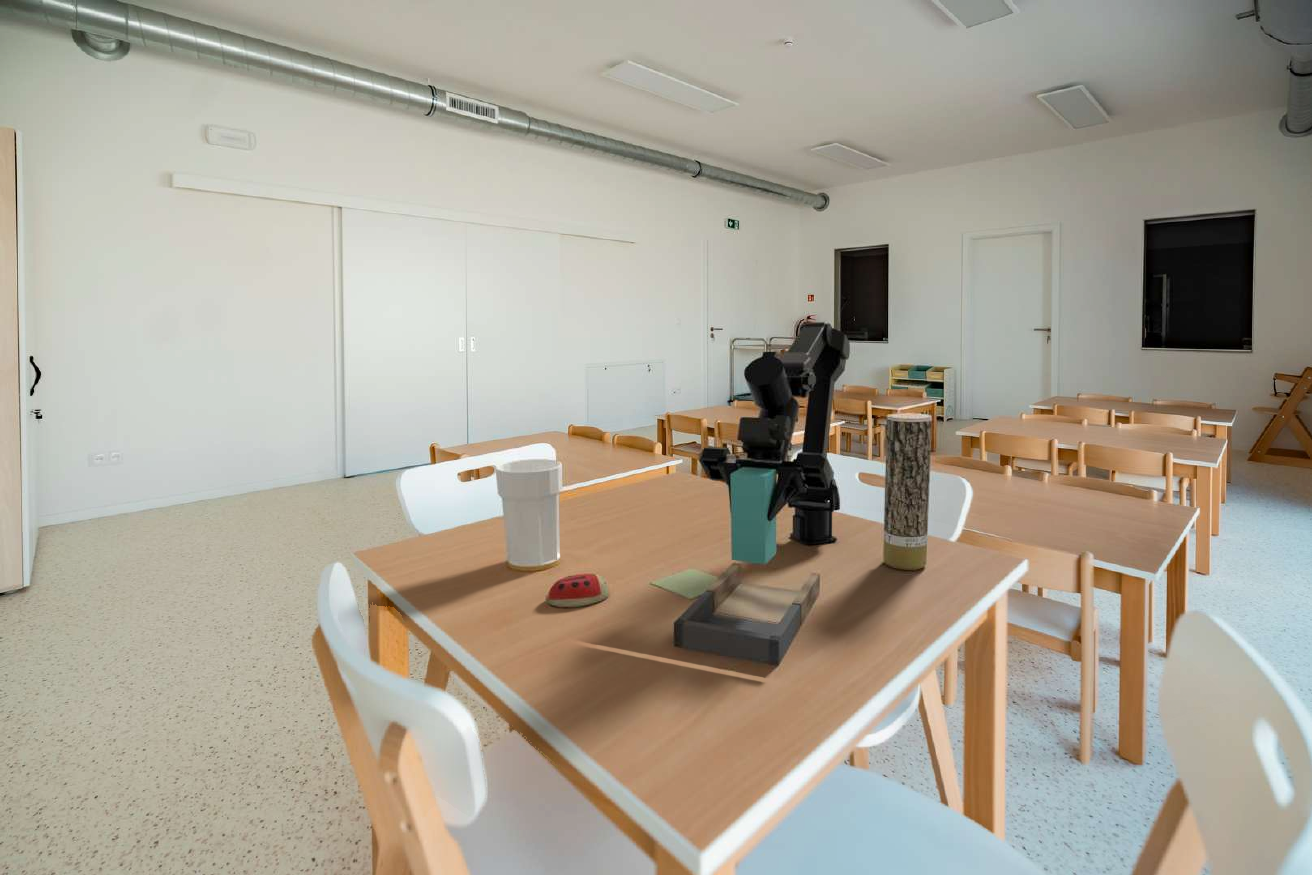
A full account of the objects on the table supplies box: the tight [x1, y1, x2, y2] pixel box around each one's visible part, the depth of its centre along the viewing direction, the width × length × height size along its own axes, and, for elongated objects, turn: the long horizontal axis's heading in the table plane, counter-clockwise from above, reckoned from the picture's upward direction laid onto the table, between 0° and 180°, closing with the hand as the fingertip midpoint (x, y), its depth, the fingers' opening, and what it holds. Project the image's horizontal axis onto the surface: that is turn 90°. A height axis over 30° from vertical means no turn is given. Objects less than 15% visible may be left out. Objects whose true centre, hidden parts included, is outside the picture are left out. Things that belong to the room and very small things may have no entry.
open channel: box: [706, 562, 821, 628], centre depth 98 cm, size 12×13×4 cm
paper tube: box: [882, 412, 933, 571], centre depth 111 cm, size 7×7×25 cm
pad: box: [650, 568, 719, 600], centre depth 106 cm, size 9×9×1 cm
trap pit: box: [673, 591, 801, 667], centre depth 87 cm, size 11×13×4 cm
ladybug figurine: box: [545, 573, 611, 608], centre depth 102 cm, size 7×10×4 cm
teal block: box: [730, 467, 777, 565], centre depth 96 cm, size 5×5×12 cm
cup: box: [495, 458, 563, 572], centre depth 118 cm, size 11×11×17 cm
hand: (750, 517), depth 95 cm, fingers closed on teal block, 5 cm apart
